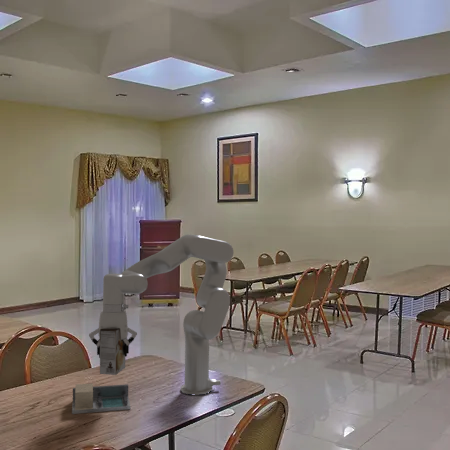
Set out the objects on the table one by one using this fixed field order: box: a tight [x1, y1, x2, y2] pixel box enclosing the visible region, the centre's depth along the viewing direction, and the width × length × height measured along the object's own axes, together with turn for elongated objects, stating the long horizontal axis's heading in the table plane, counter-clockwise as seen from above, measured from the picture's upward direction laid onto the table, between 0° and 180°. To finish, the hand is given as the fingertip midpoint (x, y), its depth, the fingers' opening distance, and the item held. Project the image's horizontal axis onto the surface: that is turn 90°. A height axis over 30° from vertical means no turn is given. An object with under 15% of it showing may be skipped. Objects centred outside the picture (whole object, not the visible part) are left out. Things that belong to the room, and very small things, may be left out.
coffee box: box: [99, 328, 126, 376], centre depth 195 cm, size 9×6×16 cm
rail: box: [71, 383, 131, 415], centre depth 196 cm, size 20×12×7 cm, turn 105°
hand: (112, 356), depth 195 cm, fingers closed on coffee box, 8 cm apart
